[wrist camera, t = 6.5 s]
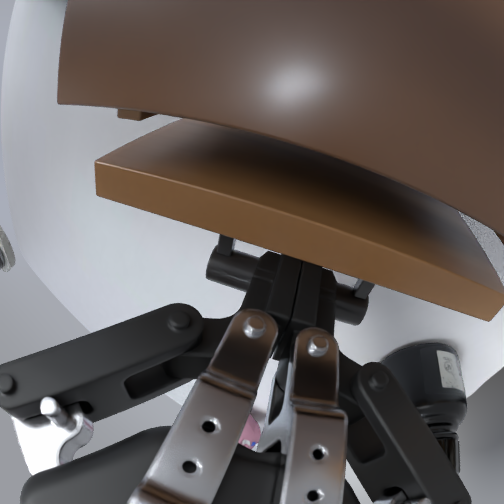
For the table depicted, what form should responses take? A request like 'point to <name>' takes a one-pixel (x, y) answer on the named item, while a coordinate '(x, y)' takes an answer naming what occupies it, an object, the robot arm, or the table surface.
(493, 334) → the table surface
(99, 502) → the robot arm
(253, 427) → the video game controller
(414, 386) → the ink bottle
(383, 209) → the drawer
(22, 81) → the table surface
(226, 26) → the cabinet
